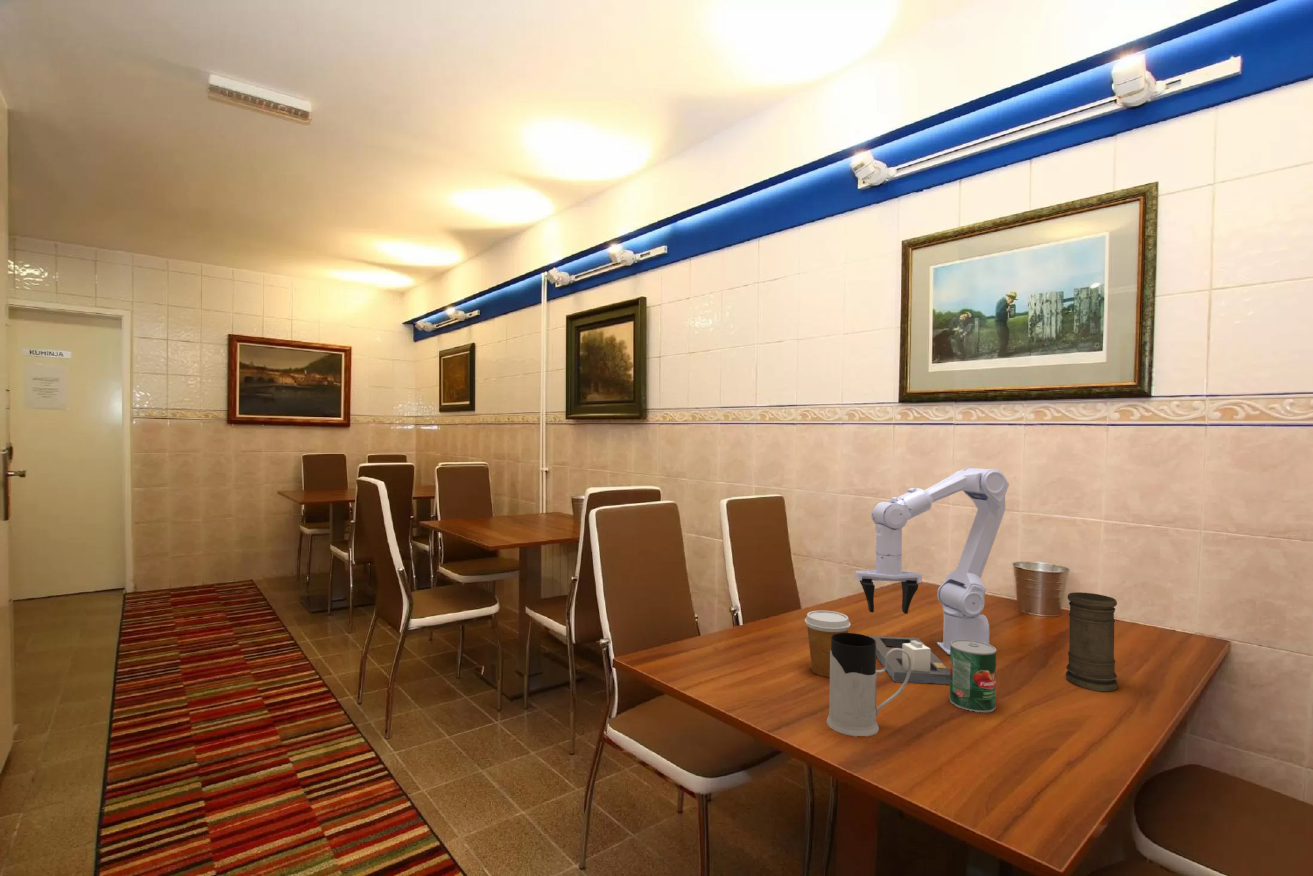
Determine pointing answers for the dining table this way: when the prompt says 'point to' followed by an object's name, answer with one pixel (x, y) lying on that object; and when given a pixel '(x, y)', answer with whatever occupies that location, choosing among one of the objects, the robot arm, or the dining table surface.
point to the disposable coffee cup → (823, 637)
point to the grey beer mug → (856, 684)
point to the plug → (916, 656)
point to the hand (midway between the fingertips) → (887, 612)
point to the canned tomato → (973, 675)
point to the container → (1091, 641)
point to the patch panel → (894, 662)
